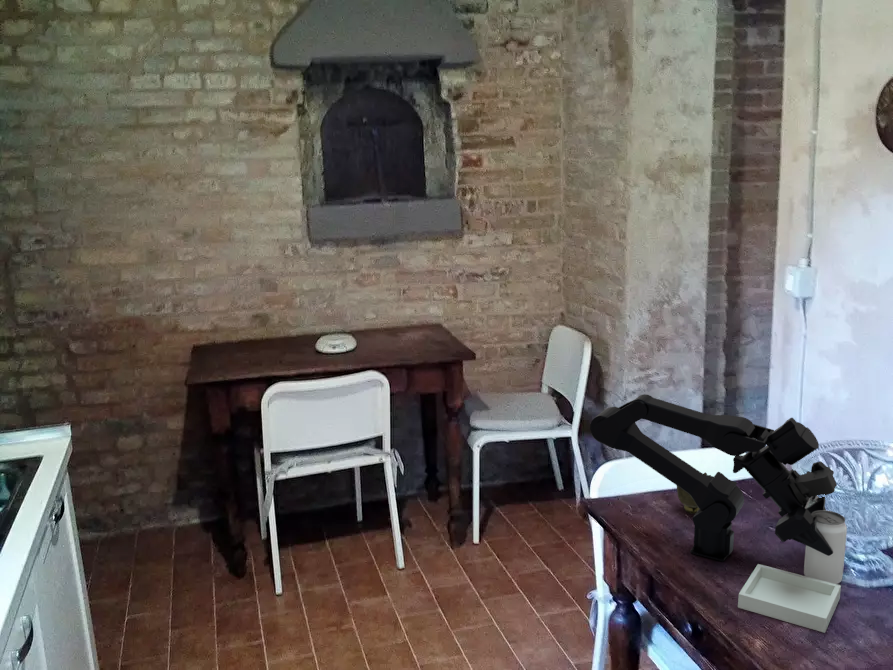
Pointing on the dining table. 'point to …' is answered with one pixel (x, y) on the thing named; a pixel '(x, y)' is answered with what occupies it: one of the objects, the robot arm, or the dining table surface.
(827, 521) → the can
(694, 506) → the olive piece
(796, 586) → the tray
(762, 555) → the dining table surface
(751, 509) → the dining table surface
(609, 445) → the robot arm
